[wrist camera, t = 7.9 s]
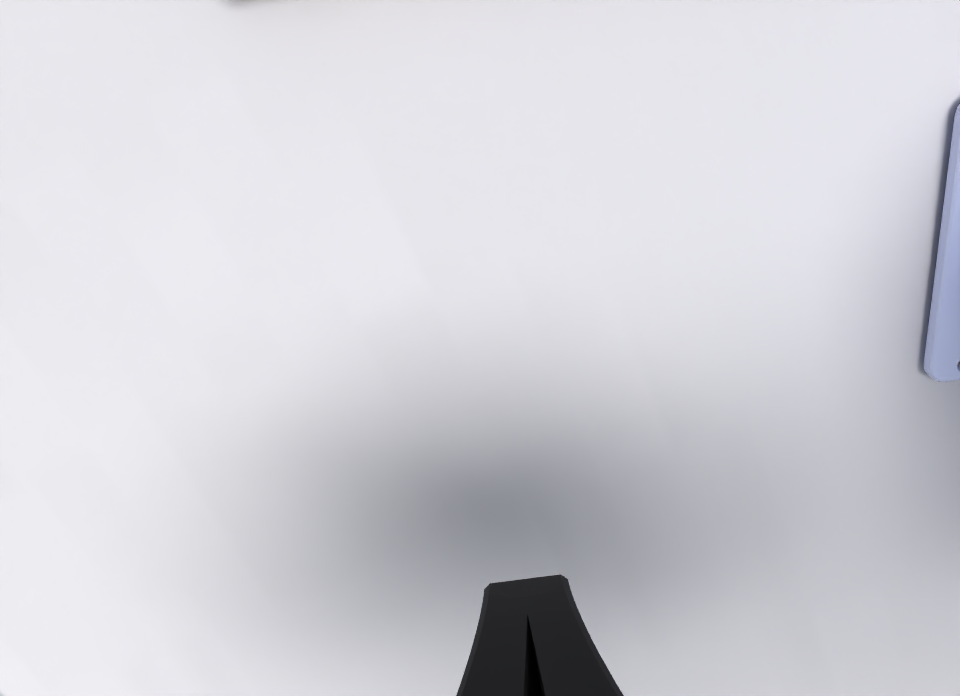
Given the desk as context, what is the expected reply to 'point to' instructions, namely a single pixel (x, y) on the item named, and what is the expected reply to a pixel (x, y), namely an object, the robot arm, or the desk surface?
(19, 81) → the desk surface
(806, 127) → the desk surface
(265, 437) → the desk surface
